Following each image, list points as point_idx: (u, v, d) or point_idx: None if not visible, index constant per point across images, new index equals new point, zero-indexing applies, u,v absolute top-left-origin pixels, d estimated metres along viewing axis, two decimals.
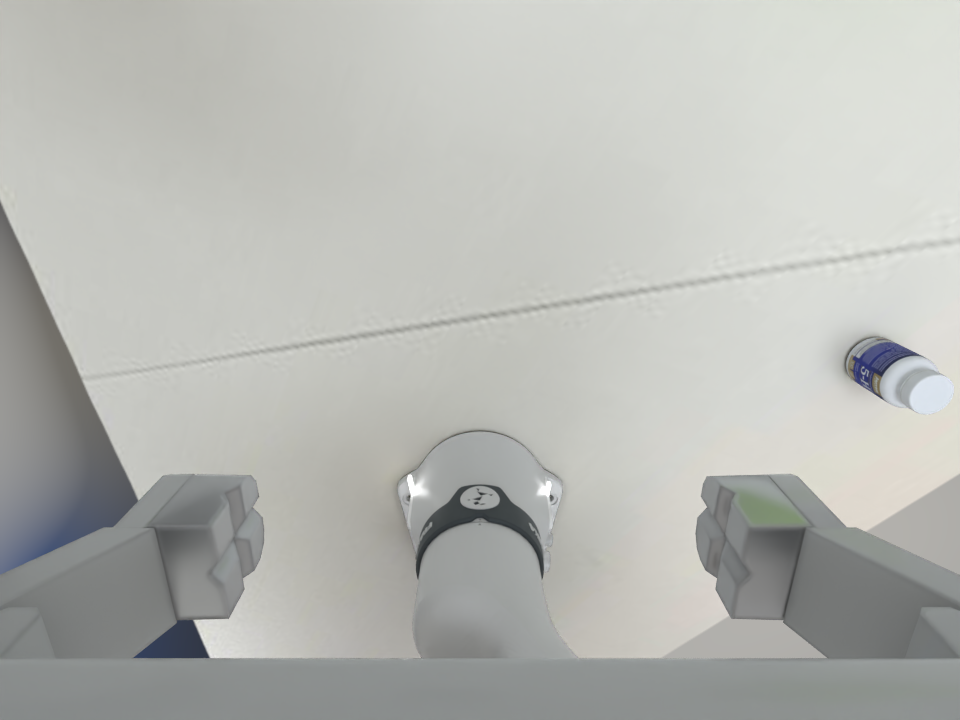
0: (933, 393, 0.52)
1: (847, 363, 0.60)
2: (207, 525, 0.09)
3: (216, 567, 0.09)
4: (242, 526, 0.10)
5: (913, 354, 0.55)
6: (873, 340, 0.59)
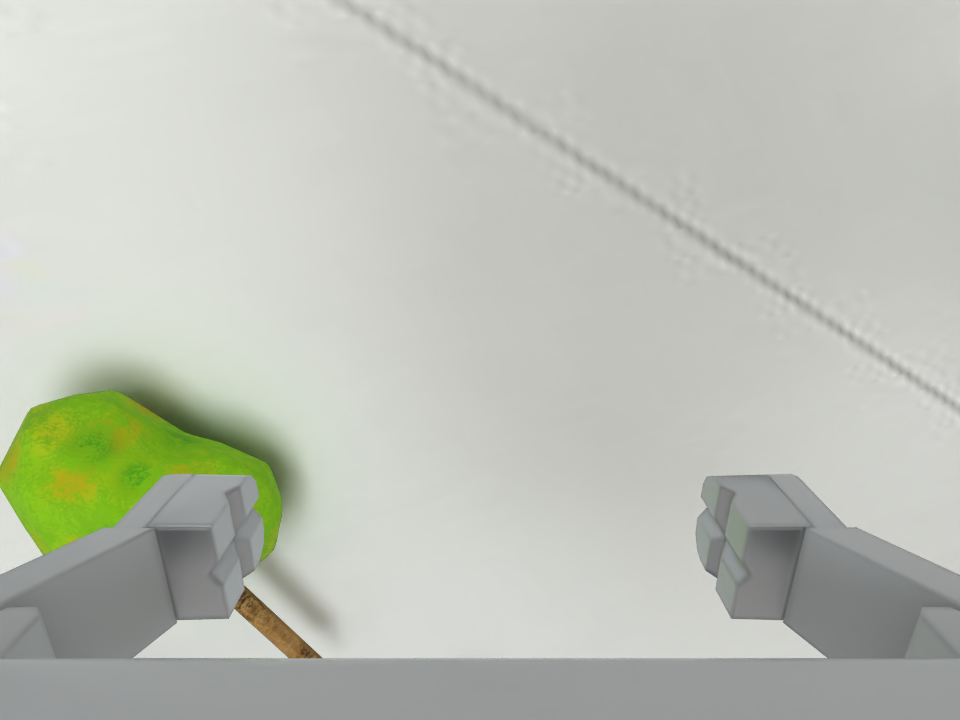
0: None
1: None
2: (208, 524, 0.09)
3: (216, 567, 0.09)
4: (242, 526, 0.10)
5: None
6: None
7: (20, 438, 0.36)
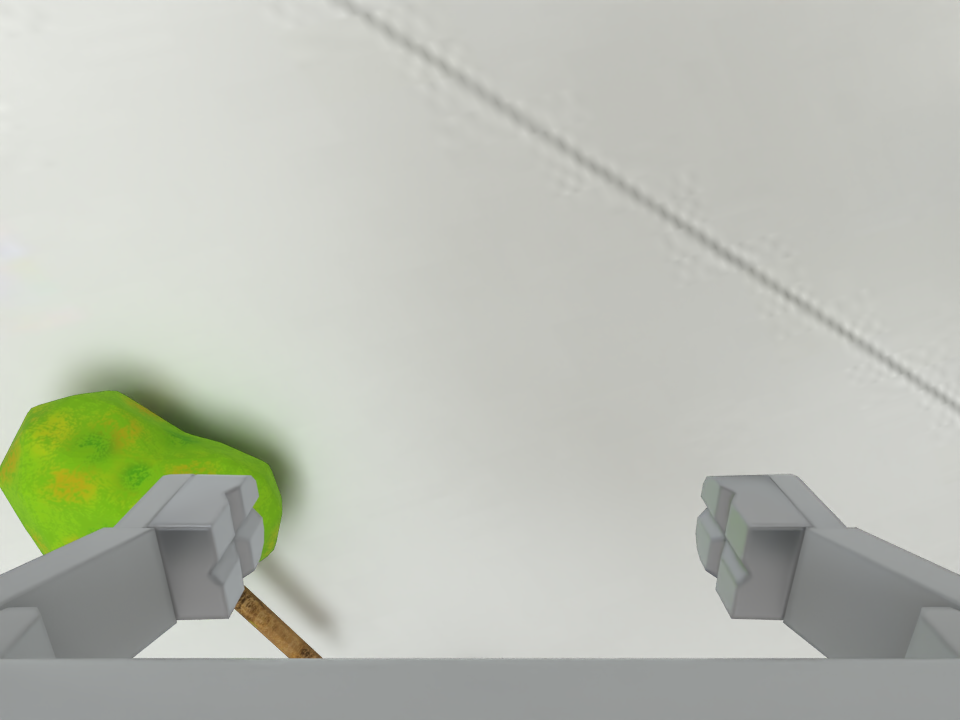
0: None
1: None
2: (208, 524, 0.09)
3: (216, 567, 0.09)
4: (242, 526, 0.10)
5: None
6: None
7: (20, 438, 0.36)
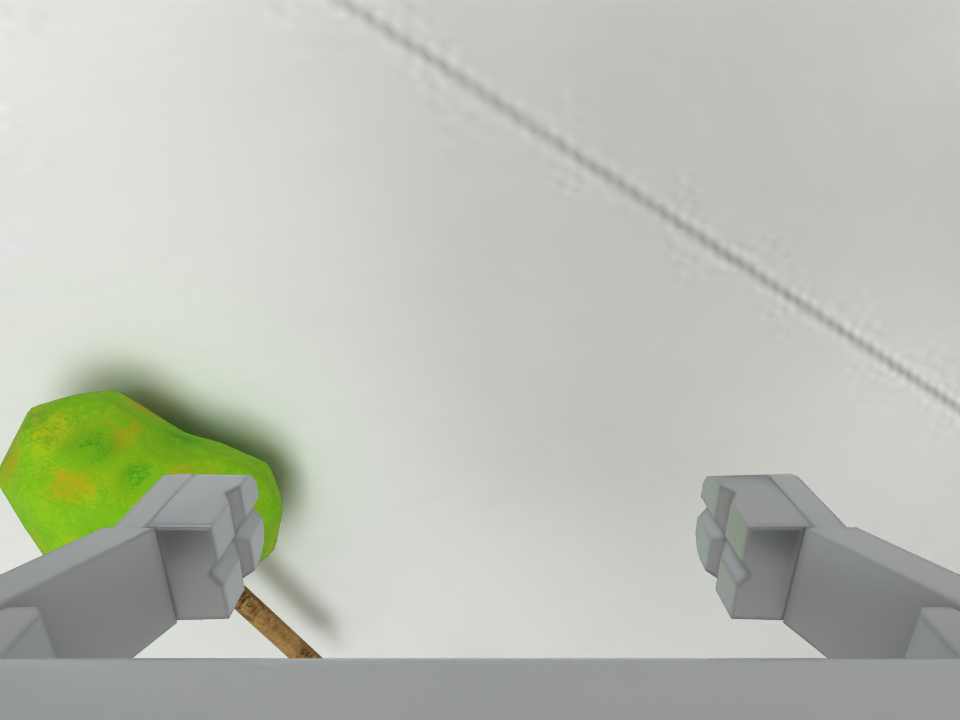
0: None
1: None
2: (208, 524, 0.09)
3: (216, 567, 0.09)
4: (242, 526, 0.10)
5: None
6: None
7: (20, 438, 0.36)
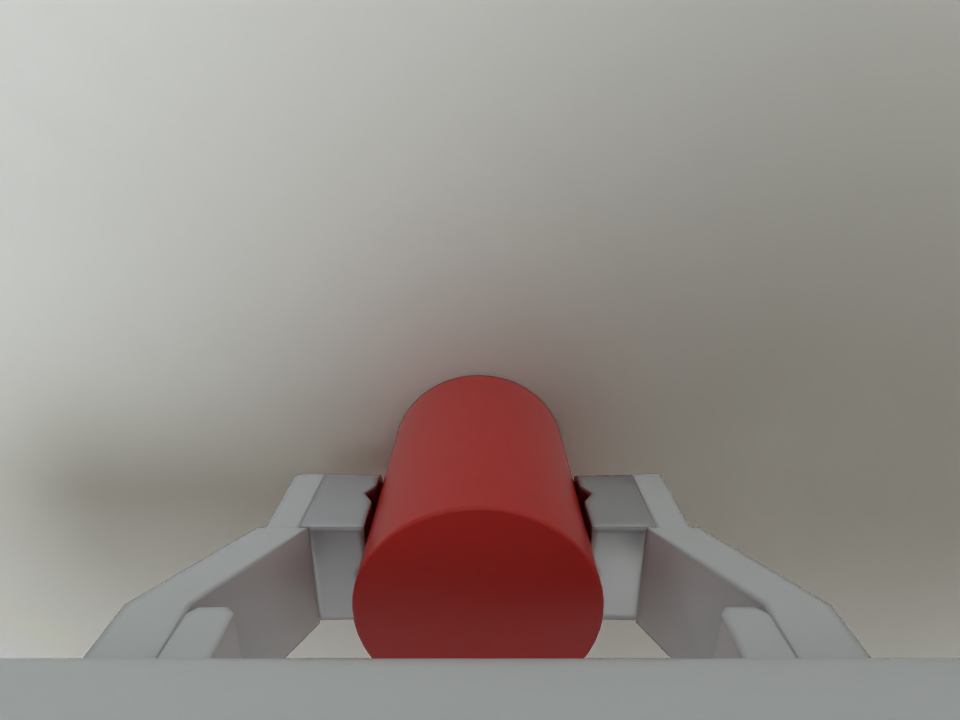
0: None
1: None
2: (360, 525, 0.09)
3: None
4: None
5: None
6: None
7: None
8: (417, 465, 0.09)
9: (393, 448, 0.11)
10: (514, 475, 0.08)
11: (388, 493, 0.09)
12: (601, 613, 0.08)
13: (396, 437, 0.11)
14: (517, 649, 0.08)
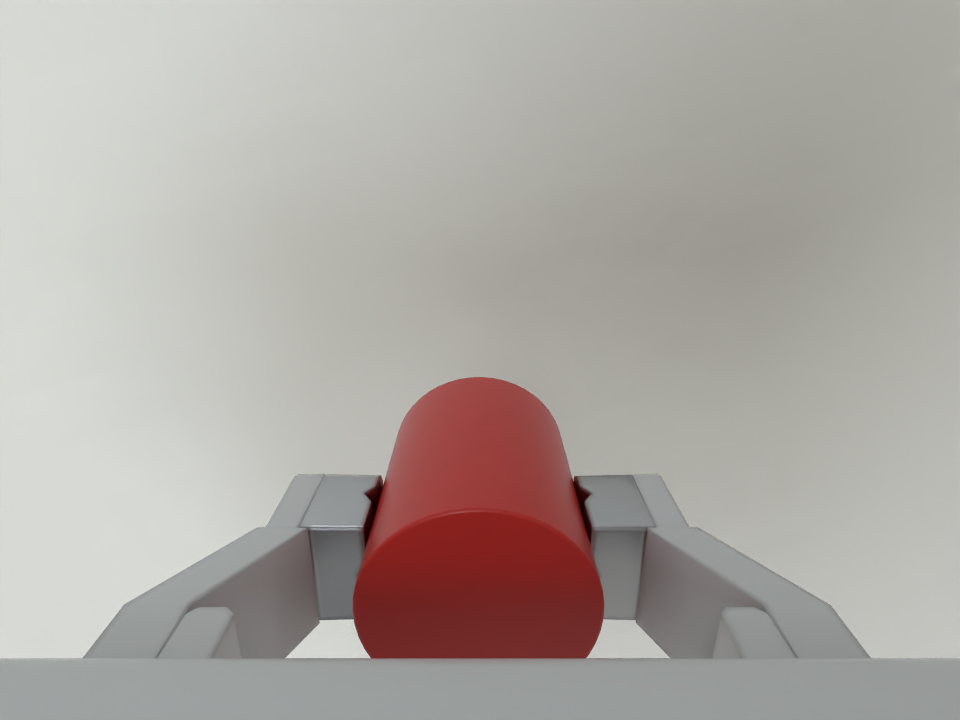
0: None
1: None
2: (360, 524, 0.09)
3: None
4: None
5: None
6: None
7: None
8: (417, 467, 0.09)
9: (393, 450, 0.11)
10: (515, 478, 0.08)
11: (388, 495, 0.09)
12: (601, 615, 0.08)
13: (396, 439, 0.11)
14: (517, 651, 0.08)
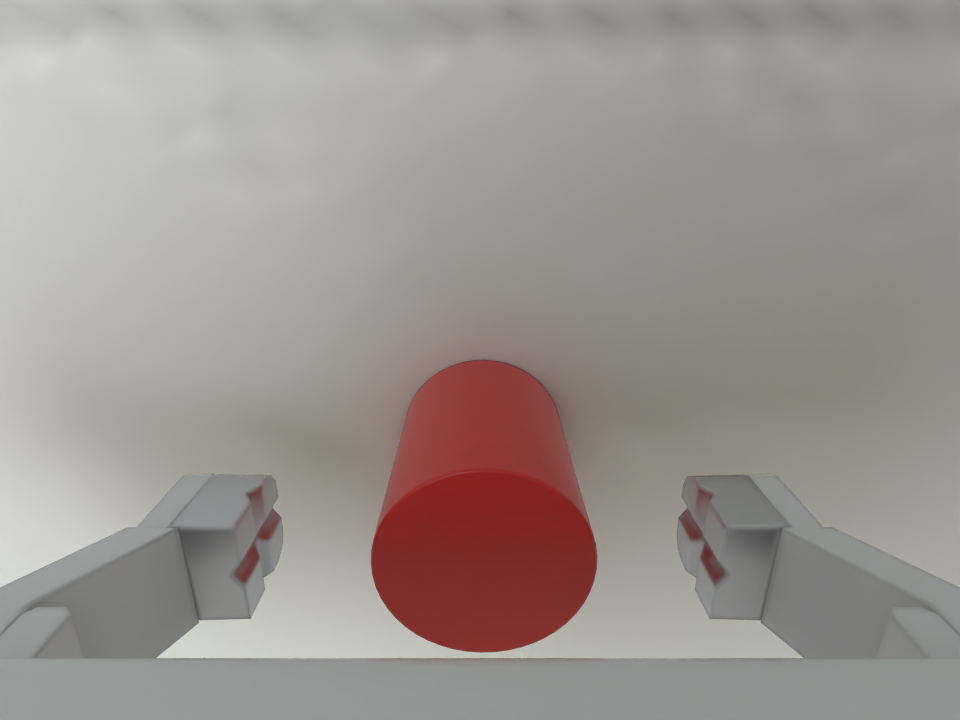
0: None
1: None
2: (231, 525, 0.09)
3: (238, 567, 0.09)
4: (262, 526, 0.10)
5: None
6: None
7: None
8: (428, 437, 0.10)
9: (404, 427, 0.12)
10: (516, 443, 0.09)
11: (402, 462, 0.10)
12: (594, 567, 0.09)
13: (406, 417, 0.12)
14: (519, 601, 0.09)
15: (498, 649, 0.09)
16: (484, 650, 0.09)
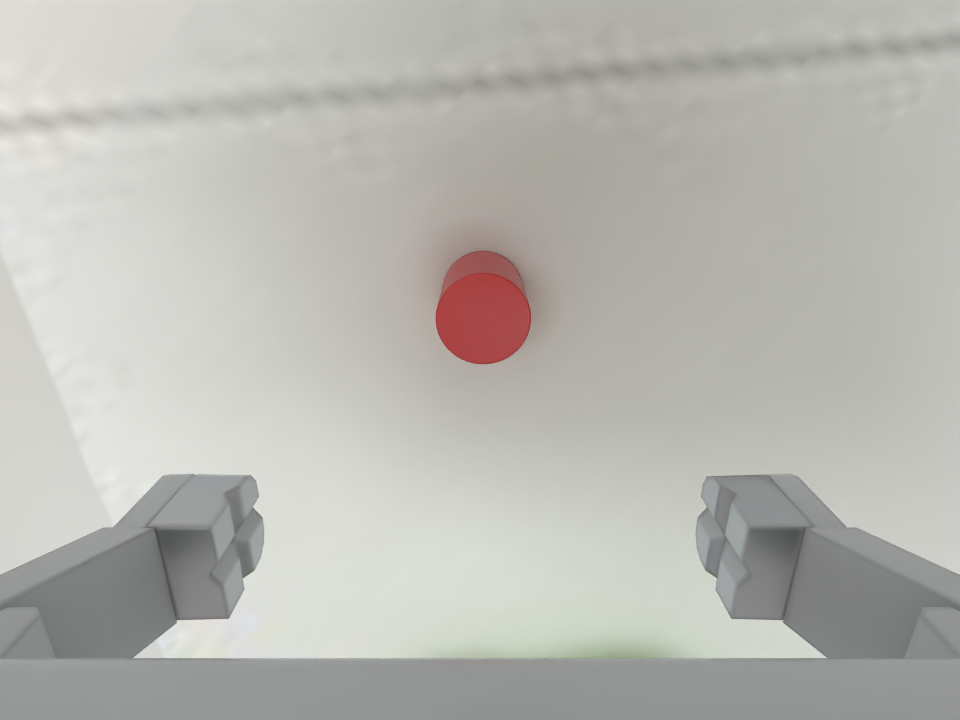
0: None
1: None
2: (208, 524, 0.09)
3: (216, 567, 0.09)
4: (242, 526, 0.10)
5: None
6: None
7: None
8: (455, 273, 0.22)
9: None
10: (493, 269, 0.21)
11: (445, 286, 0.22)
12: (529, 316, 0.21)
13: None
14: (499, 335, 0.21)
15: (493, 361, 0.22)
16: (487, 363, 0.22)
